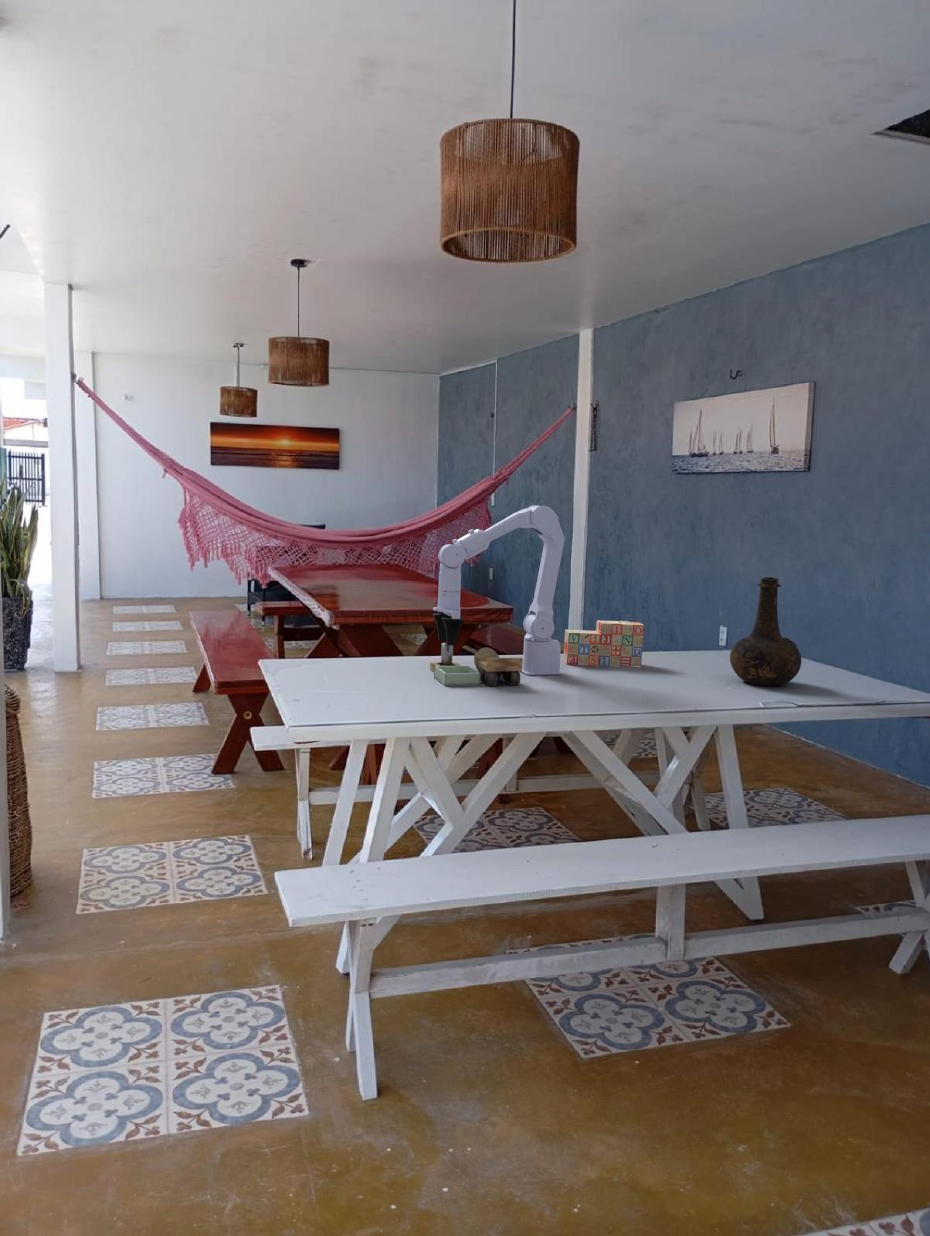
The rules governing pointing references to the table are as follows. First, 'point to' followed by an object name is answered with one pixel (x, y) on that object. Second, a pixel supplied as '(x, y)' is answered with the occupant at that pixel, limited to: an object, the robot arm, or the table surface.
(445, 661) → the pin
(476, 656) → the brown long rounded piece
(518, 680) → the trolley
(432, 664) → the pin holder
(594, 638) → the stack of blocks
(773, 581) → the glass bottle
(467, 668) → the tray
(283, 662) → the table surface
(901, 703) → the table surface
